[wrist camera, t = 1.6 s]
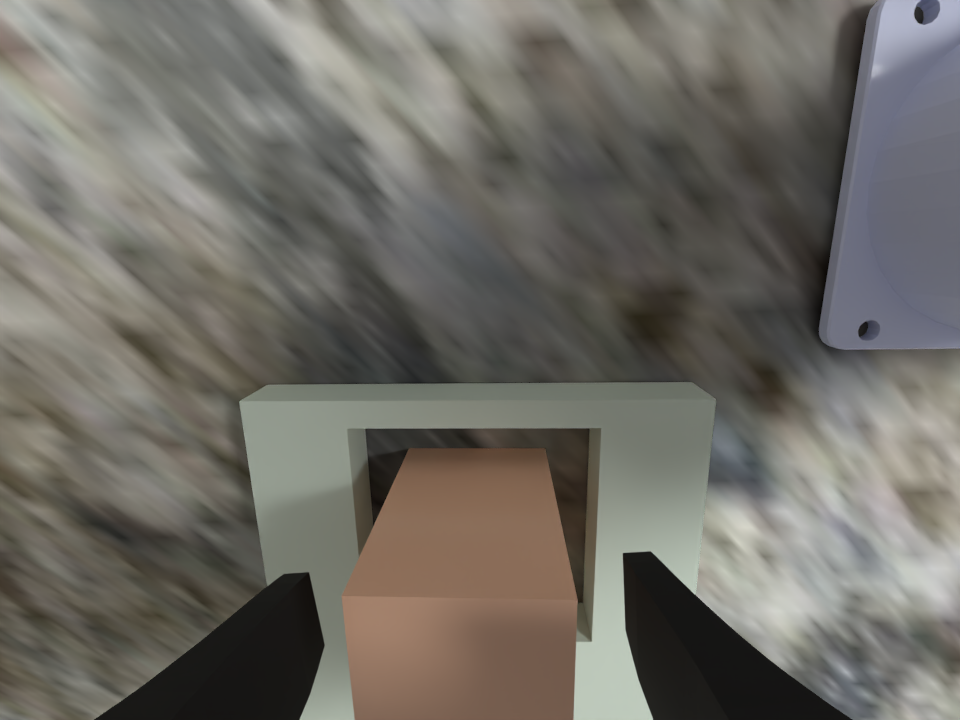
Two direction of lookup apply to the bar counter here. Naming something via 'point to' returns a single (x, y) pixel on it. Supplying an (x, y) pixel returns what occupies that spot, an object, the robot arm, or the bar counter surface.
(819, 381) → the bar counter surface
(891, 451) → the bar counter surface
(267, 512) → the pocket board
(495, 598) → the terracotta block
